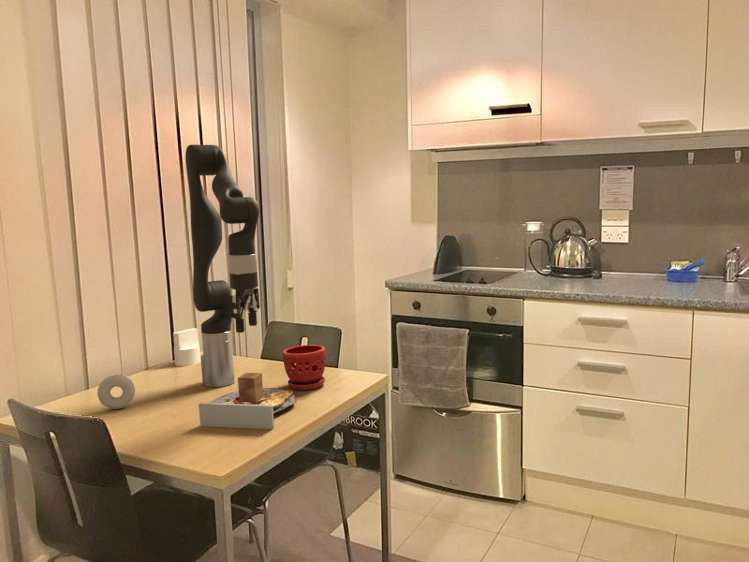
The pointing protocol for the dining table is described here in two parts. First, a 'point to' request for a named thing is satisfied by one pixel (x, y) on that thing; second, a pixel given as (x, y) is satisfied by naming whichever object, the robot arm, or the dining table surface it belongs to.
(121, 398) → the donut
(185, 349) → the base with upright slab
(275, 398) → the food plate
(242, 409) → the grey divider panel
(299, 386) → the plant pot
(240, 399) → the walnut block
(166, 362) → the dining table surface
